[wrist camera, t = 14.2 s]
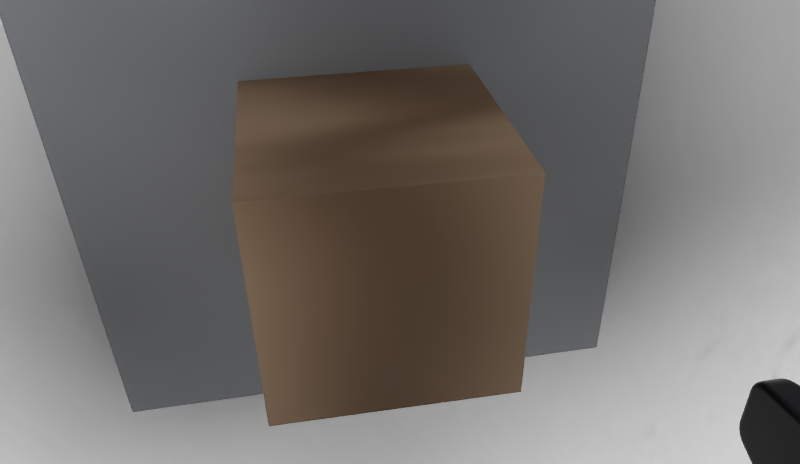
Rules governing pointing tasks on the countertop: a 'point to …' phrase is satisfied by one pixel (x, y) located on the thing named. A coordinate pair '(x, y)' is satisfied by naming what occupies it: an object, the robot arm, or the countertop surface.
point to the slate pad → (215, 141)
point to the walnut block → (383, 239)
